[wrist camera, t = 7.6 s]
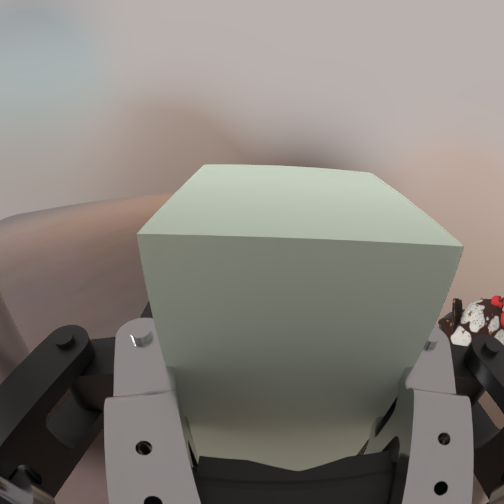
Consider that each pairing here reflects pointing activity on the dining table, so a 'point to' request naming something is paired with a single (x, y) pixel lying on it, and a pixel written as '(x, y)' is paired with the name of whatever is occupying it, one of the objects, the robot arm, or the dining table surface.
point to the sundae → (474, 321)
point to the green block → (291, 306)
